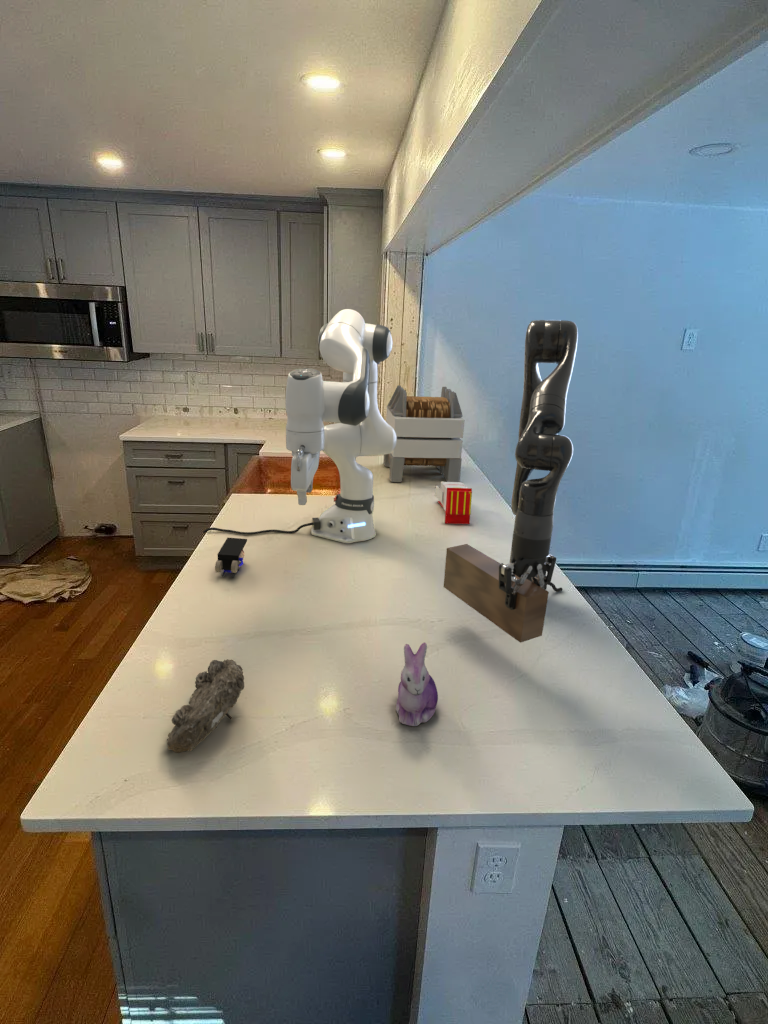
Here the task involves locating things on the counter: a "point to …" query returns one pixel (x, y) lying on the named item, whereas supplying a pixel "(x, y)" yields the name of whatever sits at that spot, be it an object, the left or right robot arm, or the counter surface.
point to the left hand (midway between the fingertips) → (305, 497)
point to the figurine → (416, 689)
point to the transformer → (425, 433)
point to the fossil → (206, 705)
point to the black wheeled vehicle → (230, 556)
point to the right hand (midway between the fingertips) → (522, 604)
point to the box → (494, 593)
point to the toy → (455, 502)
